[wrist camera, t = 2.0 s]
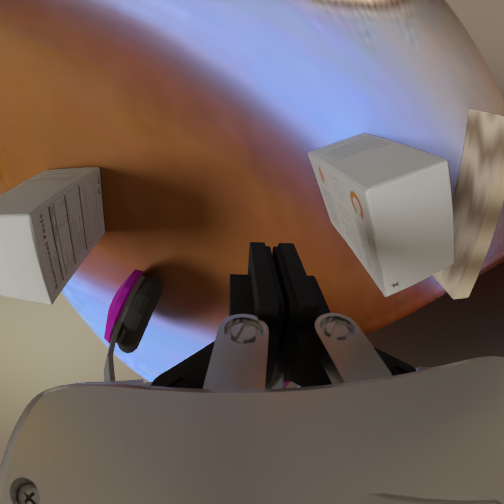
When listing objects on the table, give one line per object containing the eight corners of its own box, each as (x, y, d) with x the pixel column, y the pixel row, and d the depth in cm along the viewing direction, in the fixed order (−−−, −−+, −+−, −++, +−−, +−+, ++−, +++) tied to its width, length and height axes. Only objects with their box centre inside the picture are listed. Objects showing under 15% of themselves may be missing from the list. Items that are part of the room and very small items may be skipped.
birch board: (468, 109, 23) (504, 116, 18) (483, 116, 24) (517, 125, 18) (429, 272, 34) (453, 299, 28) (444, 272, 34) (468, 297, 29)
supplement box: (53, 231, 28) (-9, 295, 17) (45, 168, 24) (-34, 213, 13) (107, 234, 28) (53, 308, 17) (102, 165, 25) (28, 213, 14)
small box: (382, 202, 29) (456, 265, 17) (330, 223, 30) (384, 301, 18) (364, 130, 25) (450, 158, 14) (305, 150, 26) (362, 191, 14)
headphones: (297, 316, 35) (337, 469, 18) (261, 359, 39) (278, 495, 21) (134, 248, 29) (57, 411, 12) (116, 304, 33) (61, 449, 15)
